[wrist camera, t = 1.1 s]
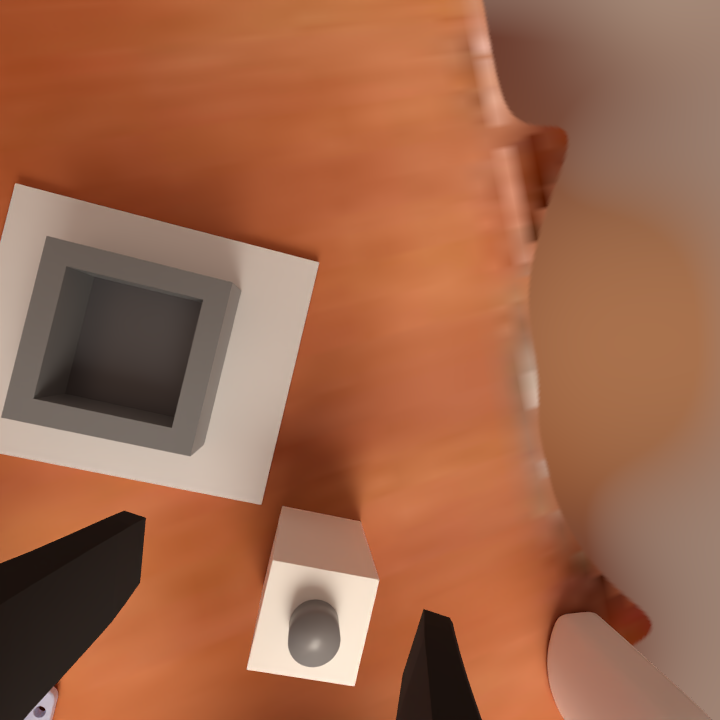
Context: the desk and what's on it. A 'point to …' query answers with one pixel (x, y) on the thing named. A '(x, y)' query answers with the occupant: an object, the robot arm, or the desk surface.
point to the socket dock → (144, 346)
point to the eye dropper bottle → (609, 676)
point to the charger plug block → (315, 599)
